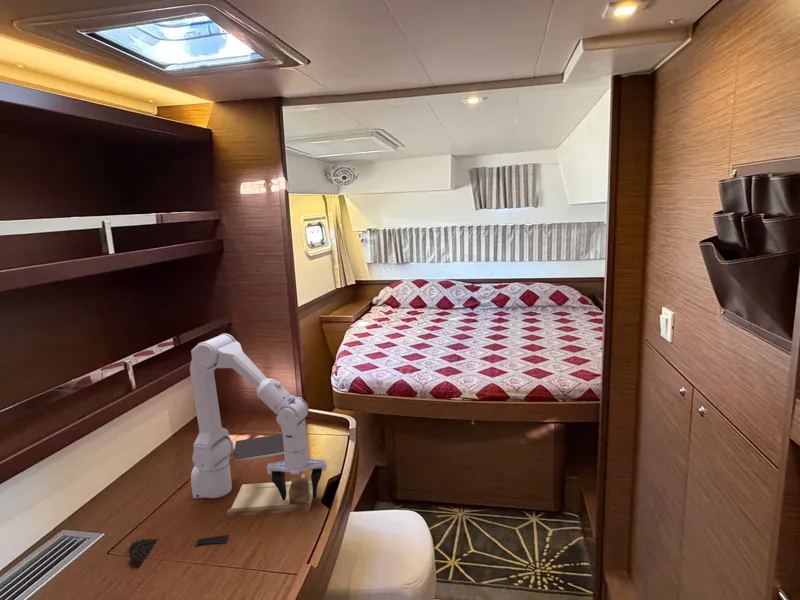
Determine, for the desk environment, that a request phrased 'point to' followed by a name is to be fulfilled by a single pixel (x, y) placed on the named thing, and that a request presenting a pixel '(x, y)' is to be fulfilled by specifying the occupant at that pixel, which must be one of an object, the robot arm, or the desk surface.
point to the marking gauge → (299, 490)
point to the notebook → (259, 447)
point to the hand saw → (179, 475)
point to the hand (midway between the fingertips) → (299, 496)
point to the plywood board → (266, 500)
